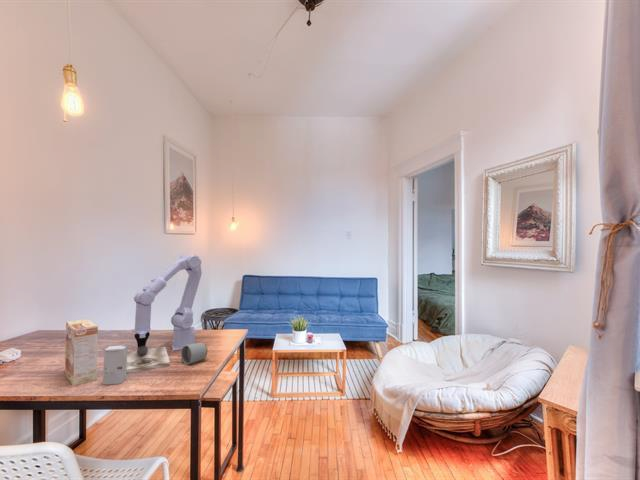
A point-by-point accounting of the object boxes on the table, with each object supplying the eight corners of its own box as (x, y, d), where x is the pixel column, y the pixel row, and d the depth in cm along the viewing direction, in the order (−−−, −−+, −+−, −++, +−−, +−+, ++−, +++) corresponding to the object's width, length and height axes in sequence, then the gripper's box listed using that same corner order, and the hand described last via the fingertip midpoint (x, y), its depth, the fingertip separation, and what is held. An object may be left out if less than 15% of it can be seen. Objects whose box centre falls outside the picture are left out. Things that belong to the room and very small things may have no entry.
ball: (147, 344, 132) (146, 344, 128) (148, 353, 131) (147, 354, 127) (137, 346, 130) (136, 347, 126) (137, 356, 129) (136, 356, 126)
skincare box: (101, 385, 104) (102, 349, 104) (107, 379, 108) (108, 345, 108) (122, 383, 105) (122, 348, 105) (127, 378, 109) (128, 344, 110)
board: (165, 349, 140) (165, 346, 140) (169, 365, 121) (169, 362, 121) (118, 356, 130) (118, 353, 130) (115, 375, 112) (115, 371, 112)
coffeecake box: (63, 374, 112) (65, 321, 113) (87, 368, 118) (89, 318, 118) (71, 386, 103) (73, 329, 103) (97, 380, 108) (98, 325, 108)
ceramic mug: (208, 360, 127) (208, 342, 128) (191, 366, 121) (191, 347, 121) (193, 355, 133) (193, 338, 134) (176, 361, 127) (176, 342, 127)
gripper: (132, 316, 134) (130, 346, 134) (131, 323, 122) (129, 357, 121) (150, 314, 138) (148, 344, 137) (151, 321, 126) (149, 354, 125)
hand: (141, 350), depth 130 cm, fingers closed, pressing on ball
